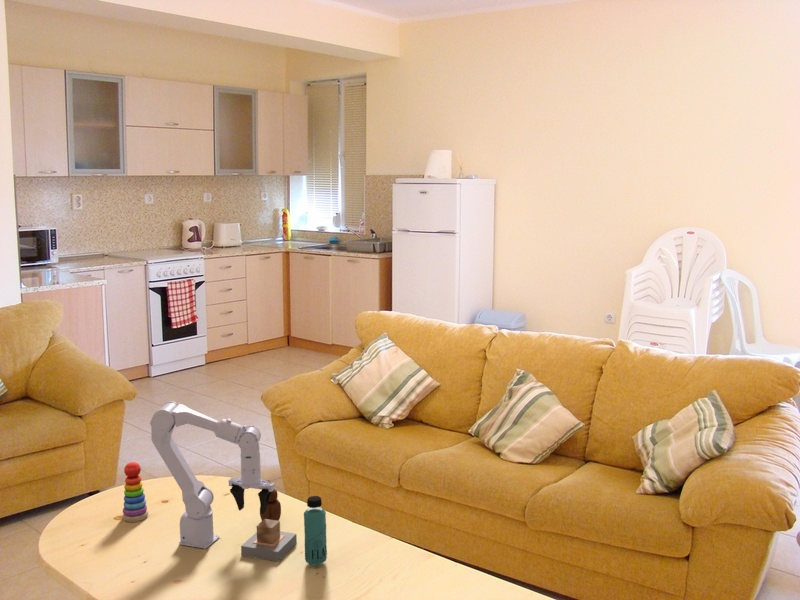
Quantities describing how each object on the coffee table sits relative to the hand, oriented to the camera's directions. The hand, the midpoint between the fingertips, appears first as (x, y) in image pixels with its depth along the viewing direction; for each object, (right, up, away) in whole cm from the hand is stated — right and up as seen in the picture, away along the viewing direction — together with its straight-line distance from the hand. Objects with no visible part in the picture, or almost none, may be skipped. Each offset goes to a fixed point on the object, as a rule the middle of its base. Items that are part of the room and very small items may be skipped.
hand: (252, 510), depth 231 cm
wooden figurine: (+3, -8, +14) cm, 16 cm away
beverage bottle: (+21, -12, -13) cm, 27 cm away
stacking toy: (-42, -8, +18) cm, 46 cm away
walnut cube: (+6, -7, -4) cm, 10 cm away
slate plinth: (+6, -11, -3) cm, 12 cm away
